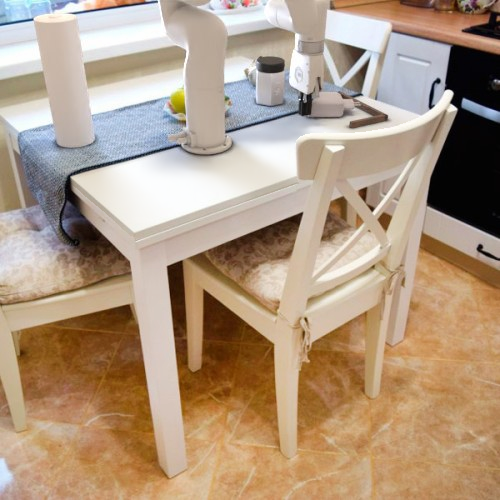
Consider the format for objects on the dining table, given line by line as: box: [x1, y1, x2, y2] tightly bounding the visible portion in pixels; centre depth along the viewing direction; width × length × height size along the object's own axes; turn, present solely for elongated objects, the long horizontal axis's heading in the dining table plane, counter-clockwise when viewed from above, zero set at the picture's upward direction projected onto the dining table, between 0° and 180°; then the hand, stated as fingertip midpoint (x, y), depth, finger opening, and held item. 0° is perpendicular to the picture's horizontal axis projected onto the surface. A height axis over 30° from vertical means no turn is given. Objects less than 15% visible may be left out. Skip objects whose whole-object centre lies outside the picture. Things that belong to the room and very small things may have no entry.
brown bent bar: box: [337, 90, 389, 129], centre depth 167 cm, size 12×22×2 cm, turn 29°
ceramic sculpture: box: [243, 55, 263, 88], centre depth 186 cm, size 11×9×15 cm
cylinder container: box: [33, 12, 96, 149], centre depth 141 cm, size 9×9×30 cm
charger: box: [307, 91, 361, 118], centre depth 165 cm, size 5×9×15 cm
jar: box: [255, 55, 286, 107], centre depth 171 cm, size 9×8×12 cm
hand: (304, 114), depth 161 cm, fingers closed
